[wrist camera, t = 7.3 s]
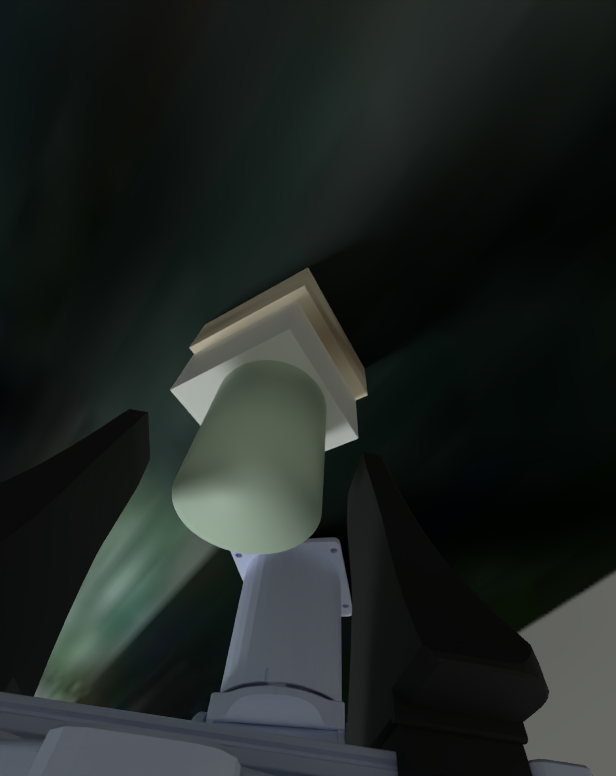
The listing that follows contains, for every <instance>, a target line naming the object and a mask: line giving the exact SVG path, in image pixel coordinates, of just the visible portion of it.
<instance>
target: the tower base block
mask: <svg viewBox="0 0 616 776" xmlns="http://www.w3.org/2000/svg"><path fill="white" fill-rule="evenodd" d="M295 300H297V301H298V303H299V305H300V306H301V308H302V310H303V311H304V313H305V315H306V316H307V318H308V320H309V321H310V323H311V325H312V326H313V328H314V330H315V331H316V333H317V335H318V336H319V338H320V340H321V341H322V343H323V345H324V346H325V348H326V350H327V351H328V353H329V355H330V356H331V358H332V360H333V361H334V363H335V365H336V366H337V368H338V370H339V371H340V373H341V375H342V376H343V378H344V380H345V381H346V383H347V385H348V387H349V388H350V390H351V392H352V393H353V395H354V397H355V399H356V400H357V399H360V398H362V397H365V396H367V395H368V394H367V386H366V378H365V370H364V367H363V365H362V363H361V362H360V360H359V358H358V356H357V354H356V353H355V351H354V349H353V347H352V345H351V344H350V342H349V340H348V338H347V336H346V335H345V333H344V331H343V329H342V327H341V326H340V324H339V322H338V320H337V318H336V317H335V315H334V313H333V311H332V309H331V308H330V306H329V304H328V302H327V301H326V299H325V297H324V295H323V293H322V292H321V290H320V288H319V286H318V284H317V283H316V281H315V279H314V277H313V275H312V274H311V272H310V270H309V268H306V269H304V270H303V271H301V272H299V273H297V274H295V275H294V276H292V277H290V278H288V279H286V280H285V281H283V282H281V283H279V284H277V285H276V286H274V287H272V288H270V289H268V290H267V291H265V292H263V293H261V294H259V295H258V296H256V297H254V298H252V299H250V300H248V301H247V302H245V303H243V304H241V305H239V306H238V307H236V308H234V309H232V310H230V311H229V312H227V313H225V314H223V315H221V316H220V317H218V318H216V319H214V320H212V321H211V322H209V323H207V324H205V326H204V327H203V328H202V330H201V331H200V333H199V334H198V336H197V337H196V339H195V340H194V342H193V343H192V344H191V346H190V347H189V348H190V349H191V350H192V352H193V353H194V354H196V353H198V352H200V351H202V350H204V349H206V348H208V347H209V346H211V345H213V344H215V343H217V342H219V341H221V340H223V339H224V338H226V337H228V336H230V335H232V334H234V333H236V332H238V331H239V330H241V329H243V328H245V327H247V326H249V325H251V324H252V323H254V322H256V321H258V320H260V319H262V318H264V317H266V316H267V315H269V314H271V313H273V312H275V311H277V310H279V309H281V308H282V307H284V306H286V305H288V304H290V303H292V302H294V301H295Z"/></svg>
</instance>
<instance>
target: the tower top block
mask: <svg viewBox="0 0 616 776" xmlns="http://www.w3.org/2000/svg"><path fill="white" fill-rule="evenodd" d="M259 360H274V361H280V362H285V363H288V364H291V365H293V366H295V367H297V368H299V369H301V370H302V371H304V372H306V373H307V374H308V375H309V376H311V377H312V378H313V380H314V381H315V382H316V383H317V384H318V386H319V387H320V389H321V390H322V392H323V395H324V397H325V401H326V407H327V415H326V436H325V451H327V450H330V449H332V448H335V447H337V446H340V445H343V444H345V443H348V442H350V441H353V440H355V439H358V428H357V413H356V399H355V397H354V395H353V393H352V392H351V390H350V388H349V387H348V385H347V383H346V381H345V380H344V378H343V376H342V375H341V373H340V371H339V370H338V368H337V366H336V365H335V363H334V361H333V360H332V358H331V356H330V355H329V353H328V351H327V350H326V348H325V346H324V345H323V343H322V341H321V340H320V338H319V336H318V335H317V333H316V331H315V330H314V328H313V326H312V325H311V323H310V321H309V320H308V318H307V316H306V315H305V313H304V311H303V310H302V308H301V306H300V305H299V303H298V301H297V300H295V301H294V302H292V303H290V304H288V305H286V306H284V307H282V308H281V309H279V310H277V311H275V312H273V313H271V314H269V315H267V316H266V317H264V318H262V319H260V320H258V321H256V322H254V323H252V324H251V325H249V326H247V327H245V328H243V329H241V330H239V331H238V332H236V333H234V334H232V335H230V336H228V337H226V338H224V339H223V340H221V341H219V342H217V343H215V344H213V345H211V346H209V347H208V348H206V349H204V350H202V351H200V352H198V353H196V354H194V355H193V356H192V358H191V359H190V361H189V362H188V364H187V365H186V367H185V368H184V370H183V371H182V373H181V374H180V376H179V377H178V379H177V380H176V382H175V383H174V385H173V386H172V388H171V389H170V390H171V392H172V393H173V394H174V395H175V396H176V397H177V399H178V400H179V401H180V402H181V403H182V404H183V406H184V407H185V408H186V409H187V410H188V411H189V413H190V414H191V415H192V416H193V417H194V418H195V420H196V421H197V422H198V423H199V424H200V425H201V424H202V422H203V420H204V418H205V416H206V414H207V412H208V410H209V408H210V405H211V403H212V401H213V399H214V397H215V395H216V393H217V391H218V389H219V387H220V385H221V383H222V381H223V380H224V378H225V377H226V376H227V375H228V374H229V373H230V372H232V371H233V370H234V369H236V368H237V367H239V366H241V365H243V364H246V363H249V362H253V361H259Z"/></svg>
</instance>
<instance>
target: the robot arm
mask: <svg viewBox="0 0 616 776" xmlns="http://www.w3.org/2000/svg"><path fill="white" fill-rule="evenodd" d="M149 460H150V446H149V423H148V412H143V411H138V410H132V409H129V410H127V411H126V412H124V413H123V414H121V415H119V416H118V417H116V418H115V419H113V420H112V421H110V422H109V423H107V424H106V425H104V426H103V427H101V428H100V429H98V430H96V431H95V432H93V433H92V434H90V435H89V436H87V437H85V438H84V439H82V440H81V441H79V442H77V443H76V444H74V445H73V446H71V447H69V448H67V449H66V450H64V451H62V452H60V453H59V454H57V455H55V456H53V457H52V458H50V459H48V460H46V461H45V462H43V463H41V464H39V465H37V466H35V467H33V468H31V469H29V470H27V471H25V472H23V473H21V474H19V475H17V476H15V477H12V478H10V479H8V480H6V481H4V482H1V483H0V776H593V775H592V773H591V770H590V769H589V768H588V767H586V766H584V765H579V764H572V763H566V762H559V761H553V760H546V759H536V760H530V761H528V759H527V756H526V753H525V750H524V746H523V744H527V742H528V737H527V734H526V730H525V727H524V724H523V721H525V720H526V719H527V718H529V717H530V716H531V715H532V714H534V713H535V712H536V711H537V710H538V709H539V708H541V707H542V706H543V704H544V703H545V702H546V700H547V699H548V694H549V690H548V687H547V684H546V682H545V679H544V677H543V673H542V671H541V668H540V666H539V663H538V660H537V658H536V656H535V654H534V652H533V649H532V647H531V645H530V644H529V643H528V642H527V641H525V640H524V639H523V638H522V637H521V636H520V635H519V634H518V633H516V632H515V631H514V630H513V629H512V628H511V627H510V626H509V625H507V624H506V623H505V622H504V621H503V620H502V619H501V618H499V617H498V616H497V615H496V614H495V613H494V612H493V611H492V610H491V609H490V608H489V607H488V606H487V605H486V604H485V603H484V602H483V601H482V600H481V599H480V598H479V597H478V596H477V595H476V594H475V593H474V592H473V591H472V590H471V589H470V588H469V587H468V586H467V584H466V583H465V582H464V581H463V580H462V579H461V578H460V577H459V575H458V574H457V573H456V572H455V571H454V570H453V569H452V568H451V566H450V565H449V564H448V563H447V562H446V560H445V559H444V558H443V557H442V555H441V554H440V553H439V552H438V550H437V549H436V548H435V546H434V545H433V544H432V542H431V541H430V540H429V538H428V537H427V535H426V534H425V532H424V531H423V529H422V528H421V526H420V525H419V523H418V522H417V520H416V519H415V517H414V516H413V514H412V512H411V511H410V509H409V507H408V506H407V504H406V502H405V500H404V499H403V497H402V495H401V493H400V492H399V490H398V488H397V486H396V484H395V482H394V480H393V479H392V477H391V475H390V473H389V471H388V469H387V467H386V465H385V463H384V461H383V459H382V457H381V455H377V454H371V453H366V452H362V455H361V458H360V461H359V464H358V467H357V470H356V472H355V475H354V478H353V481H352V484H351V487H350V490H349V493H348V507H347V531H348V545H349V558H350V570H351V583H352V601H351V596H350V591H349V585H348V580H347V575H346V570H345V565H344V560H343V555H342V550H341V544H340V541H339V540H338V539H337V538H335V537H329V538H310V539H307V540H306V541H304V542H303V543H301V544H300V545H298V546H296V547H294V548H291V549H289V550H286V551H282V552H278V553H272V554H245V553H239V552H234V551H231V554H232V556H233V558H234V561H235V563H236V565H237V568H238V570H239V573H240V575H241V577H242V580H243V582H244V583H243V587H242V592H241V597H240V601H239V606H238V611H237V616H236V620H235V625H234V630H233V634H232V639H231V644H230V648H229V653H228V658H227V663H226V667H225V672H224V677H223V681H222V686H221V691H220V693H212V695H211V699H210V704H209V708H208V713H207V712H199V713H197V714H196V715H195V716H194V717H193V719H192V721H190V720H183V719H176V718H170V717H163V716H157V715H150V714H143V713H137V712H130V711H124V710H117V709H110V708H104V707H97V706H91V705H84V704H77V703H71V702H64V701H58V700H51V699H44V698H38V697H34V694H35V692H36V689H37V687H38V685H39V682H40V680H41V677H42V675H43V672H44V670H45V667H46V665H47V662H48V660H49V657H50V655H51V653H52V650H53V648H54V646H55V643H56V641H57V639H58V636H59V634H60V632H61V629H62V627H63V625H64V622H65V620H66V618H67V616H68V613H69V611H70V609H71V607H72V605H73V602H74V600H75V598H76V596H77V594H78V592H79V589H80V587H81V585H82V583H83V581H84V579H85V577H86V575H87V573H88V571H89V569H90V567H91V564H92V562H93V560H94V558H95V556H96V555H97V553H98V551H99V549H100V547H101V546H102V544H103V542H104V540H105V539H106V537H107V536H108V534H109V532H110V531H111V529H112V527H113V526H114V524H115V523H116V521H117V519H118V518H119V516H120V514H121V513H122V511H123V510H124V508H125V506H126V505H127V503H128V501H129V500H130V498H131V496H132V495H133V493H134V491H135V490H136V488H137V486H138V484H139V482H140V480H141V478H142V476H143V474H144V471H145V469H146V467H147V464H148V462H149ZM351 615H352V633H351V663H350V684H349V704H348V720H347V723H346V737H345V731H344V730H345V722H344V703H343V702H342V699H341V616H351Z"/></svg>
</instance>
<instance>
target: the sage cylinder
mask: <svg viewBox="0 0 616 776" xmlns="http://www.w3.org/2000/svg"><path fill="white" fill-rule="evenodd" d="M326 415H327V407H326V401H325V397H324V395H323V392H322V390H321V389H320V387H319V386H318V384H317V383H316V382H315V381H314V380H313V378H312V377H311V376H309V375H308V374H307V373H306V372H304V371H302V370H301V369H299V368H297V367H295V366H293V365H291V364H288V363H285V362H280V361H274V360H259V361H253V362H249V363H246V364H243V365H241V366H239V367H237V368H236V369H234V370H233V371H232V372H230V373H229V374H228V375H227V376H226V377H225V378H224V380H223V381H222V383H221V385H220V387H219V389H218V391H217V393H216V395H215V397H214V399H213V401H212V403H211V405H210V408H209V410H208V412H207V414H206V416H205V418H204V420H203V422H202V424H201V426H200V428H199V430H198V432H197V435H196V437H195V439H194V441H193V443H192V445H191V447H190V449H189V451H188V453H187V455H186V457H185V459H184V461H183V464H182V466H181V468H180V470H179V472H178V474H177V476H176V478H175V481H174V483H173V487H172V500H173V505H174V508H175V510H176V512H177V514H178V516H179V517H180V519H181V520H182V521H183V523H184V524H185V525H186V526H187V527H188V528H189V529H190V530H191V531H192V532H194V533H195V534H196V535H198V536H199V537H200V538H202V539H204V540H205V541H207V542H209V543H211V544H213V545H215V546H218V547H221V548H223V549H226V550H230V551H234V552H239V553H245V554H272V553H278V552H282V551H286V550H289V549H291V548H294V547H296V546H298V545H300V544H301V543H303V542H304V541H306V540H307V539H308V538H309V537H310V536H311V535H312V534H313V533H314V532H315V530H316V529H317V527H318V525H319V522H320V519H321V514H322V497H323V477H324V456H325V436H326Z"/></svg>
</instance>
